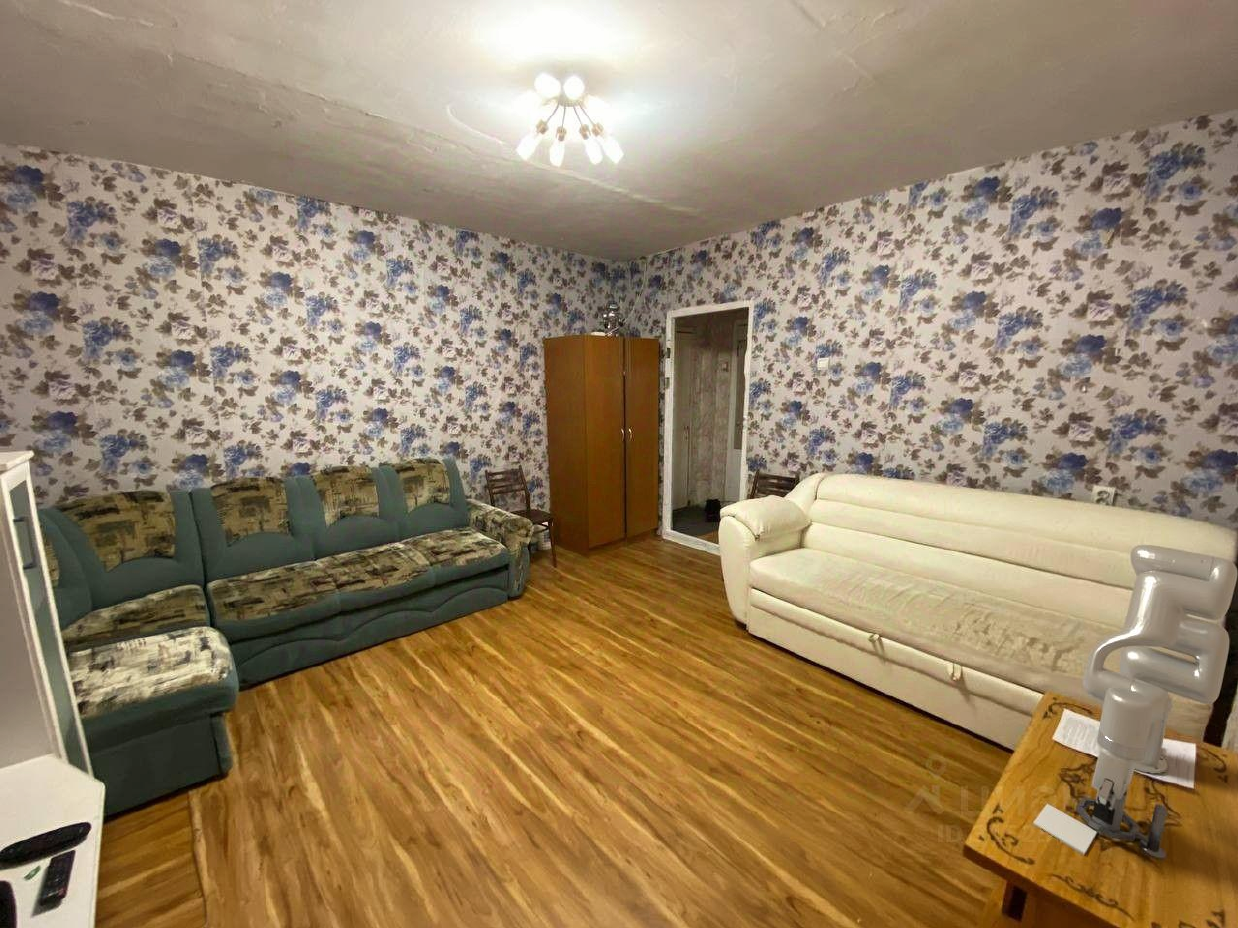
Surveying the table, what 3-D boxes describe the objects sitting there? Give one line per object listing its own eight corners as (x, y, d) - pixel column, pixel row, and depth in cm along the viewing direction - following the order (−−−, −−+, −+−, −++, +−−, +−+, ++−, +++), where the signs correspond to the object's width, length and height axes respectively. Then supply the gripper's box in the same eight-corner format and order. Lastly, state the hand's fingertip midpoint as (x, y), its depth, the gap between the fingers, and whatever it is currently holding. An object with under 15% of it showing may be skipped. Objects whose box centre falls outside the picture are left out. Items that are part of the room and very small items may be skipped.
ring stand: (1084, 800, 121) (1091, 761, 119) (1170, 845, 109) (1179, 803, 107) (1071, 820, 116) (1078, 779, 114) (1160, 870, 104) (1169, 826, 102)
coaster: (1046, 805, 120) (1047, 803, 120) (1096, 833, 112) (1097, 831, 112) (1032, 824, 115) (1033, 822, 115) (1084, 855, 107) (1084, 852, 107)
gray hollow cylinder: (1124, 835, 112) (1132, 796, 110) (1101, 832, 113) (1108, 793, 111) (1109, 818, 116) (1116, 780, 114) (1087, 815, 117) (1093, 777, 115)
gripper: (1109, 719, 118) (1097, 780, 121) (1086, 749, 109) (1074, 816, 112) (1154, 737, 112) (1141, 802, 115) (1134, 772, 103) (1120, 841, 106)
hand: (1108, 809), depth 113 cm, fingers open, 9 cm apart
